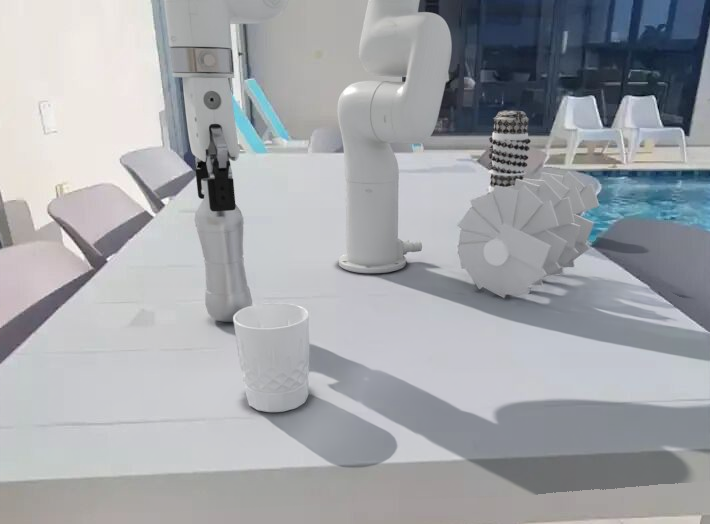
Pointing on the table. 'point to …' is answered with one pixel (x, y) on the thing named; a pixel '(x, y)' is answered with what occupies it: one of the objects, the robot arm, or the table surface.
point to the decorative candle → (508, 148)
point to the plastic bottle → (222, 259)
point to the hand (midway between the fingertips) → (216, 203)
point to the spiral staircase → (525, 232)
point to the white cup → (274, 355)
